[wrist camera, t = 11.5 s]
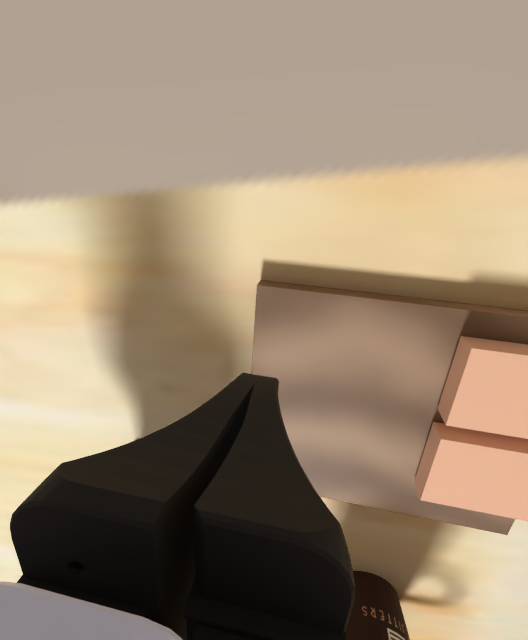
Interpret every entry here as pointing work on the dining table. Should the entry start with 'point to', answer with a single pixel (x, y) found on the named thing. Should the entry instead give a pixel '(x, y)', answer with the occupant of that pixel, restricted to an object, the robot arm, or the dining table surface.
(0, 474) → the dining table surface
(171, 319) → the dining table surface
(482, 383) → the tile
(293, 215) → the dining table surface
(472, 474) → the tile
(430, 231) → the dining table surface
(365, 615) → the coffee mug
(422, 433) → the board
